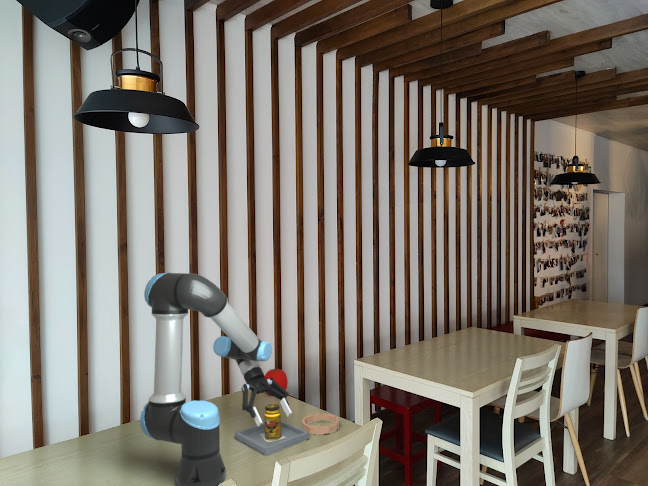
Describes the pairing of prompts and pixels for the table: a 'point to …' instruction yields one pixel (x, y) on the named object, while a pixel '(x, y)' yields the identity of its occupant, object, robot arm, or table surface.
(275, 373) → the tomato
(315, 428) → the ring holder
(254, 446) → the tray
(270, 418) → the condiment
